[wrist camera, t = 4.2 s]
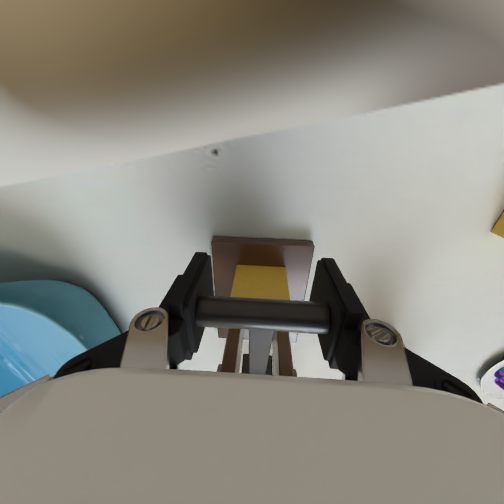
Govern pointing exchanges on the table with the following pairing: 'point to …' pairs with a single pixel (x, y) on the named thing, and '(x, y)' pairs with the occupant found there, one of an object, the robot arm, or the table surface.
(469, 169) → the table surface
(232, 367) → the slicer
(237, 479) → the robot arm
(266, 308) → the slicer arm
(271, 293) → the butter
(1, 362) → the casserole dish
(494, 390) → the pudding
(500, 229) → the butter pat
